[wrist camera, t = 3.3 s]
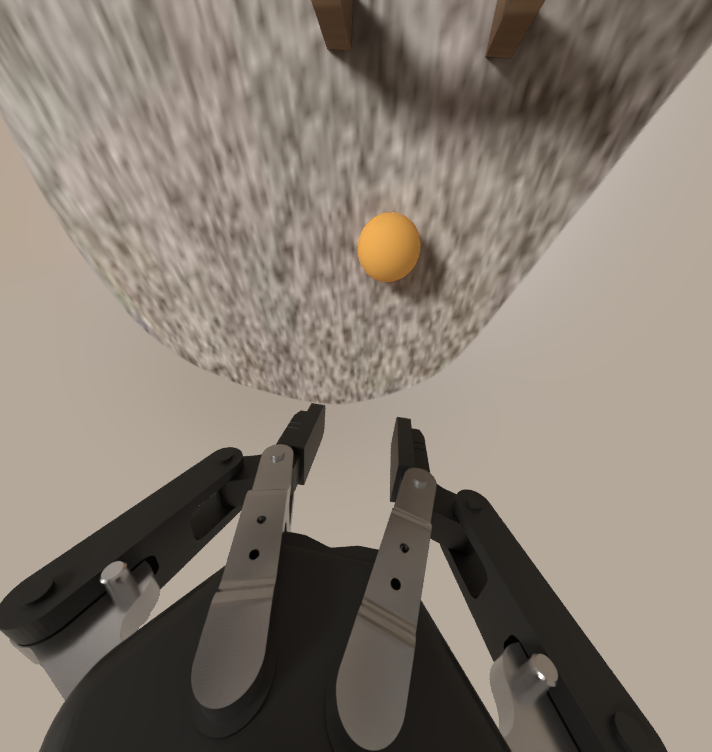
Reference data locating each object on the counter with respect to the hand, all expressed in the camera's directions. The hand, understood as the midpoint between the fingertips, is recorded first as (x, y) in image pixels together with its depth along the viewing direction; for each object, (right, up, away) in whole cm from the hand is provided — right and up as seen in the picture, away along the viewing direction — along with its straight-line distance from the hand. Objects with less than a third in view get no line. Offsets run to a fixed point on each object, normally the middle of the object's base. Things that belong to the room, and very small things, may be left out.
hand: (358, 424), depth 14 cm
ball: (+3, +15, +11) cm, 19 cm away
